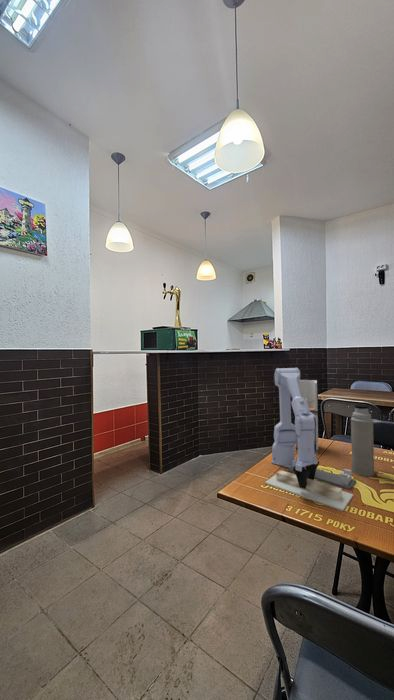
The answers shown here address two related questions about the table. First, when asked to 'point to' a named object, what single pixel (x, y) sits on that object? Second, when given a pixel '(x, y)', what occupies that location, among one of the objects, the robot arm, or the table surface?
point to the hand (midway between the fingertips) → (306, 483)
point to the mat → (312, 494)
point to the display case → (310, 404)
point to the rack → (331, 477)
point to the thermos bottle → (362, 441)
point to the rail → (311, 485)
